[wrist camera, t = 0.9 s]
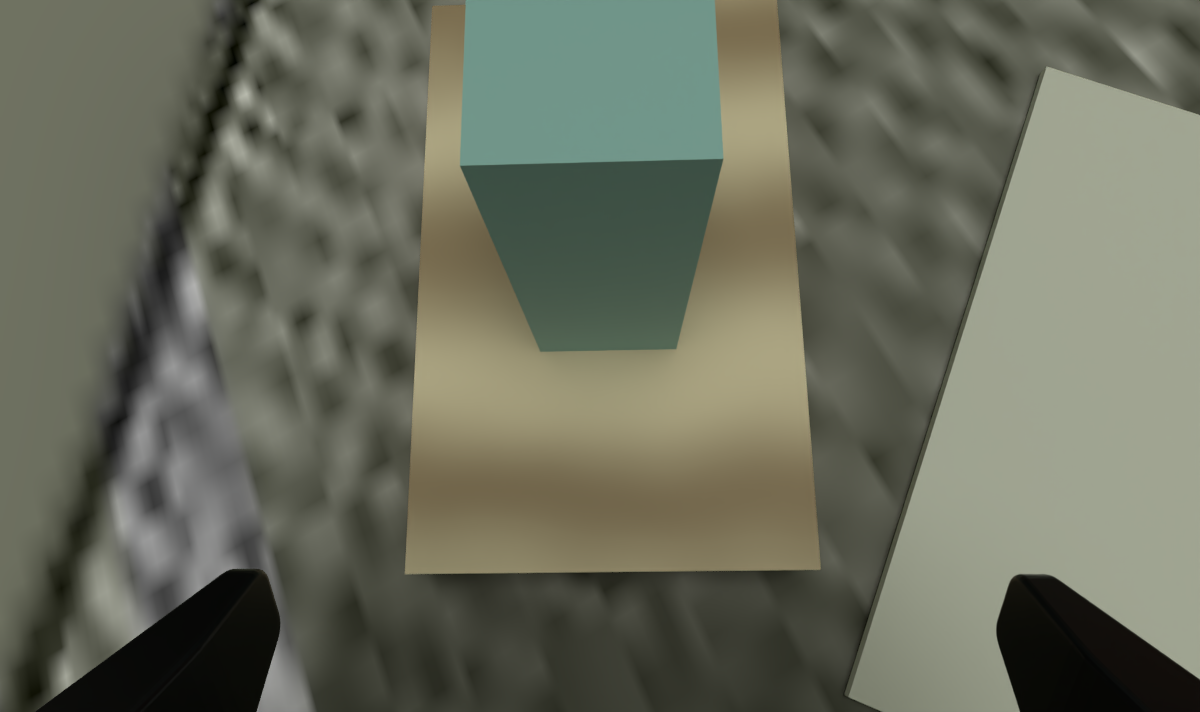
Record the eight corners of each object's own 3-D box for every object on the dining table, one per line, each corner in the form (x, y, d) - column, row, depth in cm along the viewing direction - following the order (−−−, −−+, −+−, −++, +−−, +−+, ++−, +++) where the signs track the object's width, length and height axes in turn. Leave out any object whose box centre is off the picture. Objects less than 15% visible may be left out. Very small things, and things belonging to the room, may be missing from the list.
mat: (1397, 932, 19) (1413, 941, 18) (844, 694, 21) (848, 697, 20) (1506, 223, 23) (1521, 217, 23) (1040, 74, 25) (1046, 66, 24)
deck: (794, 567, 21) (820, 569, 18) (434, 571, 22) (404, 574, 19) (759, 58, 25) (776, -6, 22) (454, 68, 26) (432, 6, 23)
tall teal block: (676, 349, 20) (723, 159, 10) (540, 351, 20) (459, 166, 10) (669, 171, 21) (706, -149, 11) (541, 175, 21) (471, -140, 12)
